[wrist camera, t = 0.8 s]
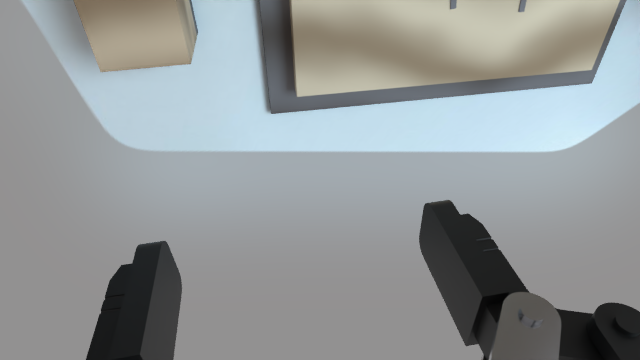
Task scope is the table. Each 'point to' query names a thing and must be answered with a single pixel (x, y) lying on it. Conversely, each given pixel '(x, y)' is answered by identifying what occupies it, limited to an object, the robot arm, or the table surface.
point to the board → (427, 48)
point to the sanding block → (139, 32)
